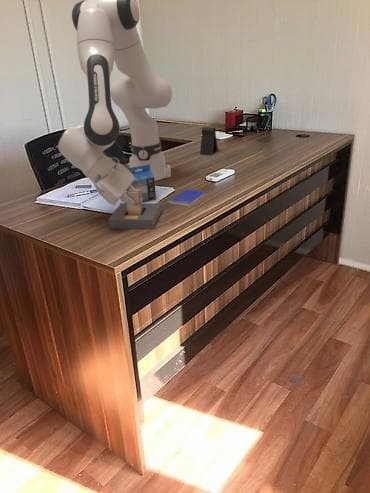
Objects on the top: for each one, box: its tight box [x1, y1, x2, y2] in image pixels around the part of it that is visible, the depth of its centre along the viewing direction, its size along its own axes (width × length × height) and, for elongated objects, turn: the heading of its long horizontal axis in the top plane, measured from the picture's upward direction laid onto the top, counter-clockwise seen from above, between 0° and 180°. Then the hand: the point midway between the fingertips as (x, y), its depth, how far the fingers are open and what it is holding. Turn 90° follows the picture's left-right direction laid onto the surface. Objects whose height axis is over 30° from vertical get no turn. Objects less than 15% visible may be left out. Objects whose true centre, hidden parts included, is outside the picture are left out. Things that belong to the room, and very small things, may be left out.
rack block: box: [107, 202, 162, 230], centre depth 140 cm, size 14×14×3 cm
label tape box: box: [126, 164, 157, 203], centre depth 154 cm, size 9×4×12 cm, turn 114°
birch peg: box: [124, 189, 143, 215], centre depth 138 cm, size 4×4×8 cm
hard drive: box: [168, 189, 206, 207], centre depth 155 cm, size 2×8×12 cm
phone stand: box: [199, 126, 219, 156], centre depth 208 cm, size 9×6×12 cm, turn 154°
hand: (136, 201), depth 137 cm, fingers closed on birch peg, 4 cm apart
